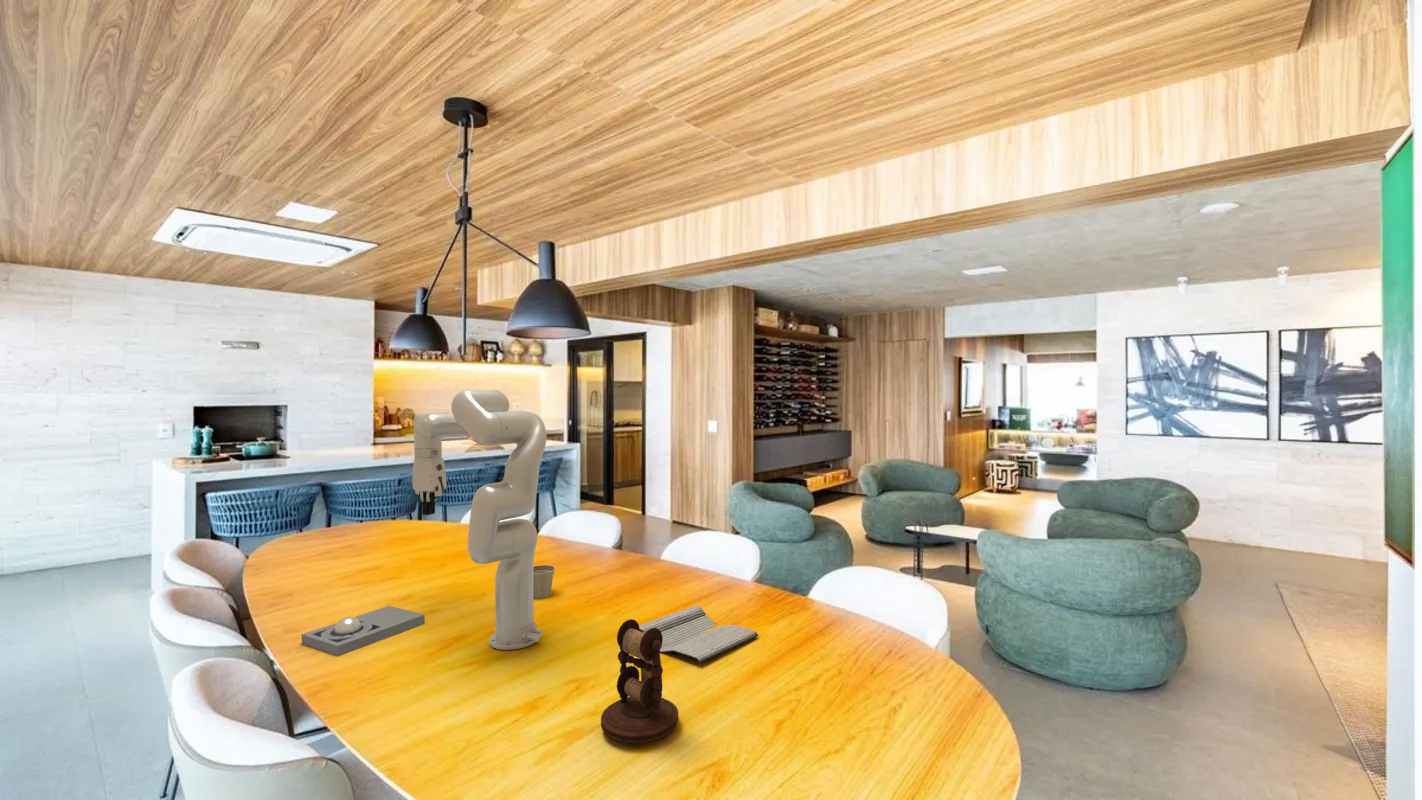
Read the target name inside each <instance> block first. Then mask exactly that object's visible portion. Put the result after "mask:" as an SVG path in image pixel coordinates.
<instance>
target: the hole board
mask: <svg viewBox="0 0 1422 800" xmlns="http://www.w3.org/2000/svg"><path fill="white" fill-rule="evenodd" d="M354 617H355V618H357V619H358V620H359V621H360V623H361V630H360V632H357V633H354V634H351V635H346V636H335V632H334V630H335V626H336V624H337V623H338V622H335V623H332V624H328V625H325V626H323V627H319V628H316V629H313V630H311V631H307V632H304V633H301V645H303V646H307V647H309V648H313V649H316V650H318V651H321V652H324V653H327V654H331V655H333V656H336V657H339V656H342V655H345V654H347V653H350V652H352V651H355V650H357V649H361V648H363V647H366V646H369V645H371V644H374V643H377V642H379V641H382V640H385V639H387V638H390V637H393V636H395V635H398V634H401V633H403V632H406V631H409V630H411V629H414V628H417V627H419V626H422V625H424V623H425V614H423V613H419V612H415V611H411V610H407V609H403V608H400V607H395V606H391V605H388V606H384V607H381V608H378V609H375V610H373V611H369V612H366V613H363V614H360V615H357V616H354ZM421 624H422V625H421ZM416 626H417V627H416ZM408 629H409V630H408Z"/></svg>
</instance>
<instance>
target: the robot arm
mask: <svg viewBox="0 0 1422 800" xmlns="http://www.w3.org/2000/svg"><path fill="white" fill-rule="evenodd" d="M509 409H510V401H509V398H508V397H507V396H506V395H505V394H504V393H503V392H501V391H498V390H493V389H465V390H460V391H459V392H458V393H456V395H455V396H453V399H452V401H451V411H450V412H449V411H448V412H446V411H445V412H424V413H417V414H415V416H414V418H413V431H414V432H413V436H414V437H413V439H414V440H413V441H414V442H413V444H414V446H413V452H414V453H413V454H414V456H413V457H414V458H413V459H414V460H413V465H412V478H411V481H412V489H413V490H414V494H416V495H418V496H420V502H421V506H422V508H421V510H422V514H421V515H423V516H429V515H435V513H436V501H437V498H438V497H440V496H442V495H443V491H445V490H447V474H446V473H447V472H446V471H447V470H446V465H445V461H444V458H443V451H442V450H443V447H442V446H443V443H442V442H443V439H444V438H445V439H446V438H463V437H467V436H470V437H472V439H473V440H474V441H475V442H477V443H478V444H480V445H482V446H487V447H489V446H500V445H501V446H502V445H513V444H516V447H515V448H514V449H513V450H512V451H511V453H510V454H509V456H508V458H507V460H506V463H505V466H504V467H505V468H504V475H503V479H502V480H501V481H499V482H497V481H496V482H491V483H486V484H484V485H482V486H480V487H479V488H478V489H477V490H476V491H475V493H474V495H473V498H472V501H471V506H470V507H471V508H470V517H469V525H468V535H467V550H468V551H467V552H468V555H469V558H470V559H471V561H473V562H474V564H478V565H487V564H491V563H496V562H499V563H498V564H497V567H496V570H495V571H496V572H495V577H494V579H495V581H494V582H495V583H494V584H495V585H494V590H495V591H494V593H495V594H494V595H495V598H494V599H495V601H494V602H495V606H494V607H495V608H494V610H495V614H494V615H495V632H494V633H493V634H492V635H490V637H489V641H488V644H489V646H490V647H491V648H493V649H495V648H496V649H495V650H501V651H503V650H504V651H510V650H520V649H523V648H527V647H529V646H532V645H534V644H535V643H537V642H539V641H540V640H541V637H542V636H543V635H544V631H543V630H541V629H537V622H534V621H535V619H534V616H535V615H534V598H533V568H534V566H535V565H534V563H535V554H536V548H537V544H538V543H537V542H538V532H537V528H536V526H535V525H534V523H533V522H532V521H530V520H528V519H525V518H520V517H524V516H527V515H529V514H531V513H532V512H533V510H534V508H535V506H536V500H537V492H538V484H539V476H540V468H541V462H542V458H543V455H544V452H545V448H546V443H547V429H546V426H545V423H544V420H542V418H541V417H540V416H539V415H538V414H536V413H534V412H530V411H523V410H510V411H509Z"/></svg>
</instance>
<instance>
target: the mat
mask: <svg viewBox="0 0 1422 800" xmlns="http://www.w3.org/2000/svg"><path fill="white" fill-rule="evenodd" d="M716 625H717V623H715V622H714V621H713V619H711V617H709V616H708V615H707V614H706V612H705V611H704V610H703V607H701V606H697V605H694V606H691V607H688V608H685V609H683V610H680V611H677V612H674V613H670V614H668V615H665V616H662V617H660V618H657V619H655V620H651V621H649V622H646V623H644V624H640V625H639V628H640V632H643V633H646V631H648V630H649V629H651V628H658V629H659V630H660V631H661V633H662V637H663V641H662V647H661V649H660V651H661V653H660V654H663V653H664V654H665V653H676V654H679V655H682V656H684V657H688V658H693V659H695V660H697V662H698V663H699V664H701V667H702V664H703V662H705V661H708V660H710V659H711V658H713V657H715V656H718V655H720V654H722V653H724V652H726V651H729V650H731V649H733V648H735V647H738V646H739V645H743V644H744V643H746V642H749V641H752V640H753V639H754V640H755V639H756V638H757V637H759V634H758V633H757V631H755V630H753V629H749V628H747V627H742V626H739V625H735V624H729V625H719V626H717V627H716Z"/></svg>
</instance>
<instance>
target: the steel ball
mask: <svg viewBox="0 0 1422 800" xmlns="http://www.w3.org/2000/svg"><path fill="white" fill-rule="evenodd" d="M355 617H356V616H346V617H343V618H340V620H339V621H338V622H336V623H337V624H336V626H335V630H334V632H335V636H346V635H351V634H354V633H357V632H360V630H361V623H360V621H359V620H358V619H357V618H355Z"/></svg>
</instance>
